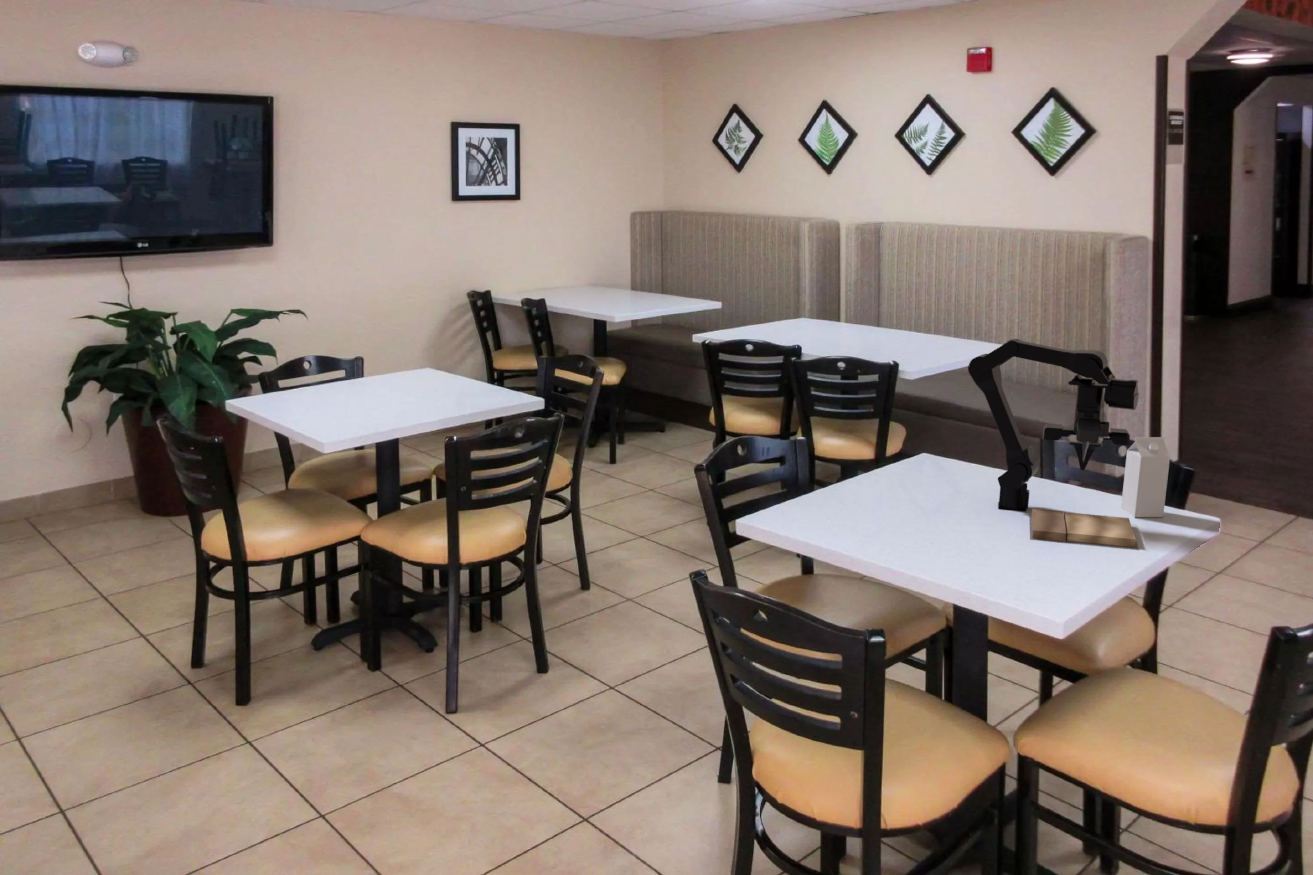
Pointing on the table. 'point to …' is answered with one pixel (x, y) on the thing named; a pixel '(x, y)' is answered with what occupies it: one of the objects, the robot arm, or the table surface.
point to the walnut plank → (1048, 525)
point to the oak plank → (1099, 529)
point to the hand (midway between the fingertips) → (1082, 470)
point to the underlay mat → (1081, 542)
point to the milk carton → (1146, 477)
